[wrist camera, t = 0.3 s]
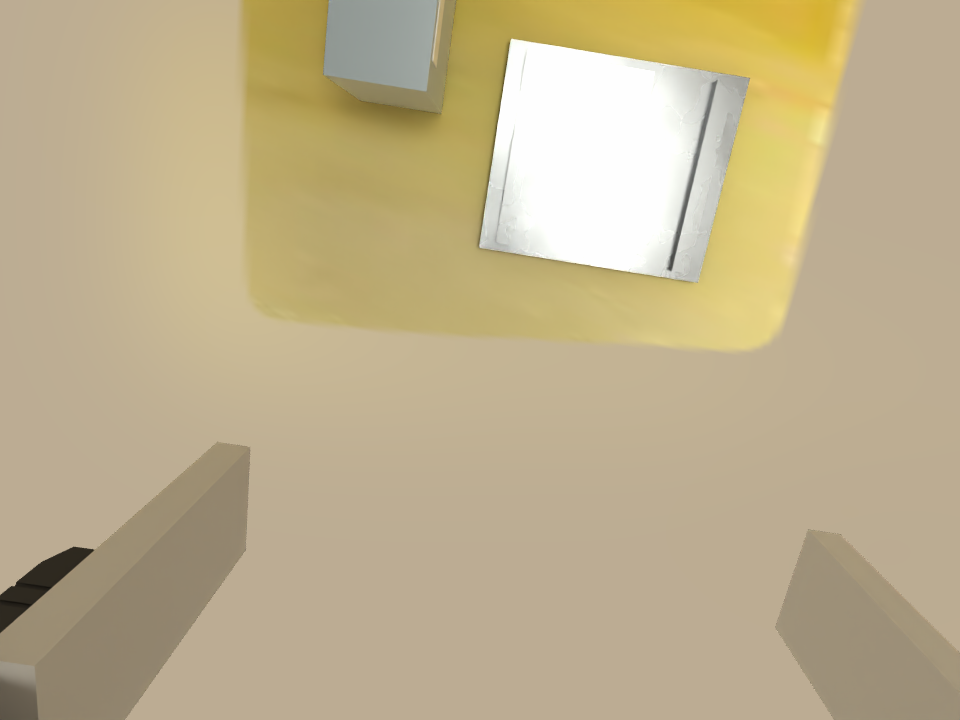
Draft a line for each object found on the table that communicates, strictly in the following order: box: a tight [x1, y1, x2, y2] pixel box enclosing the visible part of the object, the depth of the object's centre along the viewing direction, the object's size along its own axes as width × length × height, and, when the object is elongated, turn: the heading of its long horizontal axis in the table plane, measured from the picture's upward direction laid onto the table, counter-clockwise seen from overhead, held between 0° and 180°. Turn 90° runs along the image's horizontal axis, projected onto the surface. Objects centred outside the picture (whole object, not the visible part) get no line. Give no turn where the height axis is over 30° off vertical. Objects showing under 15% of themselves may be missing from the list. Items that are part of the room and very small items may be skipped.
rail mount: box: [479, 39, 750, 283], centre depth 36 cm, size 12×14×2 cm
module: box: [323, 0, 456, 114], centre depth 31 cm, size 9×5×8 cm, turn 171°
